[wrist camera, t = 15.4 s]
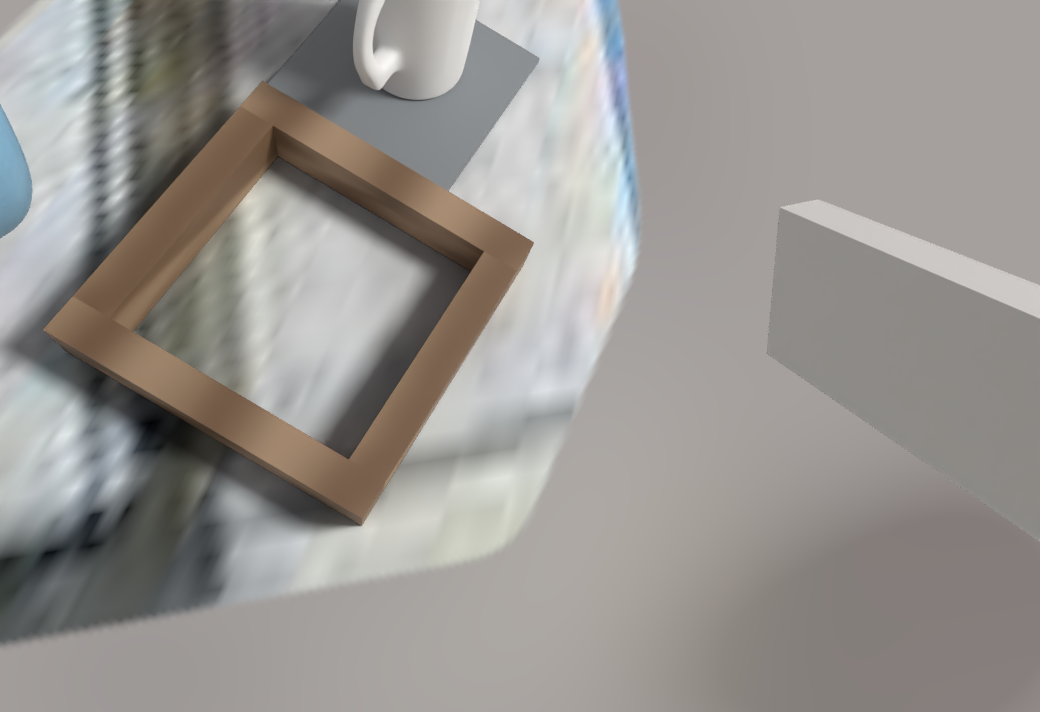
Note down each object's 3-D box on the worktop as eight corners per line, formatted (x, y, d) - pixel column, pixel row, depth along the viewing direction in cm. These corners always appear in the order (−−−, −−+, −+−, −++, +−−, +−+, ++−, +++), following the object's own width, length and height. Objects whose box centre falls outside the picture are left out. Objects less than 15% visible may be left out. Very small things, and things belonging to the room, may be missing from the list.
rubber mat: (263, 93, 45) (263, 88, 45) (375, -36, 50) (375, -41, 49) (442, 199, 45) (442, 196, 45) (538, 62, 50) (539, 58, 50)
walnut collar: (65, 350, 39) (42, 329, 36) (268, 113, 45) (262, 80, 42) (361, 525, 39) (362, 518, 36) (523, 265, 45) (534, 242, 42)
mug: (392, -6, 49) (404, -192, 38) (487, 47, 49) (526, -123, 38) (304, 107, 45) (288, -63, 34) (407, 164, 45) (424, 14, 34)
